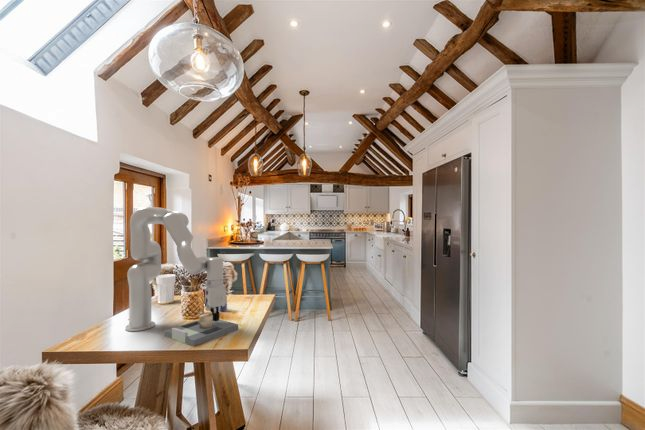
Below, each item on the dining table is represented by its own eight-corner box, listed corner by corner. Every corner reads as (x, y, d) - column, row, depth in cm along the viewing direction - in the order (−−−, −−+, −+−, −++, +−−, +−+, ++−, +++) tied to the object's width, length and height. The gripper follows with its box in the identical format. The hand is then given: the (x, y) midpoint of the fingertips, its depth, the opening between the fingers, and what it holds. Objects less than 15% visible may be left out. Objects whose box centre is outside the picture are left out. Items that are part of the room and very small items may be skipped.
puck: (196, 326, 148) (196, 316, 148) (208, 323, 153) (208, 313, 153) (204, 329, 144) (204, 318, 144) (215, 325, 149) (215, 315, 149)
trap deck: (164, 335, 143) (164, 325, 143) (209, 321, 163) (209, 312, 163) (193, 346, 131) (193, 335, 131) (238, 329, 151) (238, 320, 151)
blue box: (227, 311, 182) (227, 292, 182) (224, 312, 179) (224, 293, 179) (216, 309, 186) (216, 291, 186) (212, 310, 184) (212, 292, 184)
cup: (178, 300, 208) (178, 274, 208) (171, 304, 197) (171, 277, 197) (160, 300, 207) (160, 274, 207) (152, 305, 196) (152, 277, 196)
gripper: (207, 286, 145) (207, 326, 145) (232, 280, 158) (232, 317, 157) (197, 284, 149) (197, 323, 149) (222, 279, 162) (222, 315, 161)
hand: (215, 320), depth 153 cm, fingers closed
